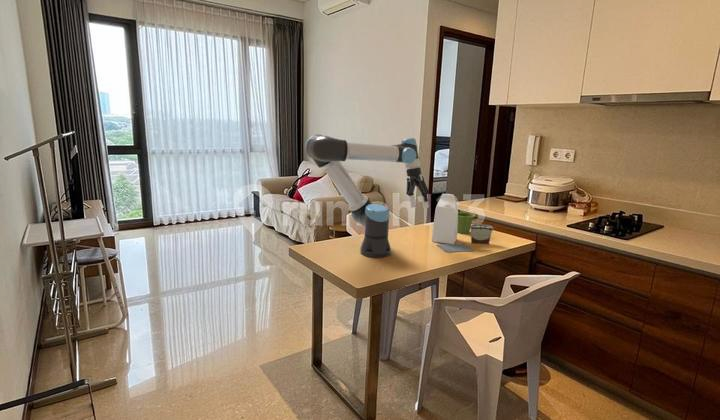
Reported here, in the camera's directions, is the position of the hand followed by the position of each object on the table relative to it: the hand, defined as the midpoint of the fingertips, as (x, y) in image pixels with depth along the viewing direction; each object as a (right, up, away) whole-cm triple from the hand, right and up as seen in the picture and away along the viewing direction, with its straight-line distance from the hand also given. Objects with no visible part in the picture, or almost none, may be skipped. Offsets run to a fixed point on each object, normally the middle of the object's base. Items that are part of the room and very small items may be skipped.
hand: (419, 207), depth 203 cm
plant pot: (+31, -15, +29) cm, 44 cm away
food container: (+34, -19, +9) cm, 41 cm away
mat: (+19, -21, -2) cm, 28 cm away
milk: (+15, -18, +11) cm, 26 cm away
